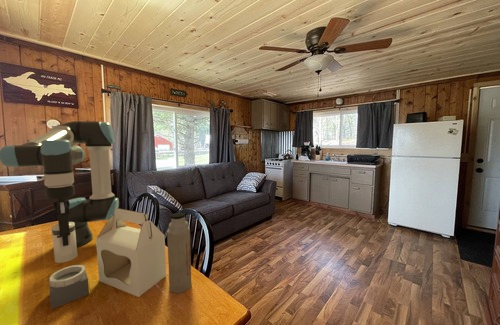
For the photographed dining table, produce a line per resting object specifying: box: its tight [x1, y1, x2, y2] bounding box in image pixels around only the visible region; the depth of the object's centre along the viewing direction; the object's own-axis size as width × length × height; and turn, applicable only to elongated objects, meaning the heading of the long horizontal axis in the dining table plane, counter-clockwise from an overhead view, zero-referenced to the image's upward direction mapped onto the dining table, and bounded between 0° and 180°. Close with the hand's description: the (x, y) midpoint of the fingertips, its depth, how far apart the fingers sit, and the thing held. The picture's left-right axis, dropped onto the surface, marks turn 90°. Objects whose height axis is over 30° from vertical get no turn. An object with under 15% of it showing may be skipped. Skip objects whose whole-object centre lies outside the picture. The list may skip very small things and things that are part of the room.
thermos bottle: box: [166, 212, 192, 294], centre depth 80 cm, size 8×8×28 cm
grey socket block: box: [48, 264, 90, 310], centre depth 77 cm, size 10×10×8 cm
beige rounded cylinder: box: [51, 222, 78, 264], centre depth 75 cm, size 6×6×12 cm
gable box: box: [95, 207, 167, 298], centre depth 84 cm, size 22×13×28 cm, turn 67°
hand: (65, 250), depth 75 cm, fingers closed on beige rounded cylinder, 6 cm apart
